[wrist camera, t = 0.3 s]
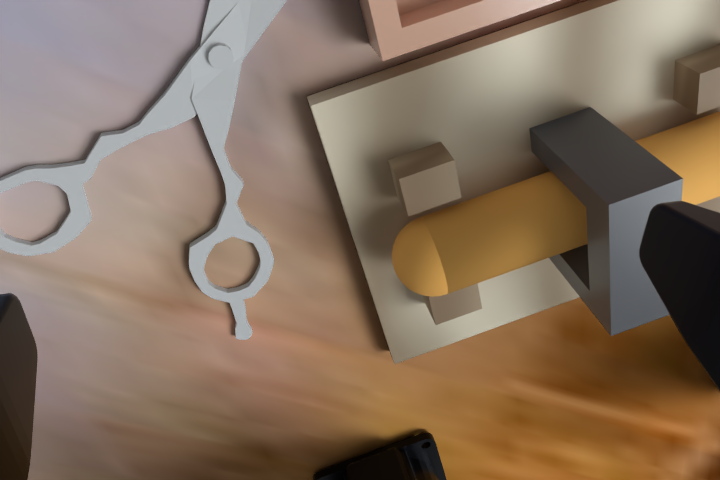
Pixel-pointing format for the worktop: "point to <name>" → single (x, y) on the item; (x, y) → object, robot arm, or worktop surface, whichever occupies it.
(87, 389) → the worktop surface
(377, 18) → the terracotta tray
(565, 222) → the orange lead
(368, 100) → the cradle board
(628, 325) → the dark gray horseshoe block
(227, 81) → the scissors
